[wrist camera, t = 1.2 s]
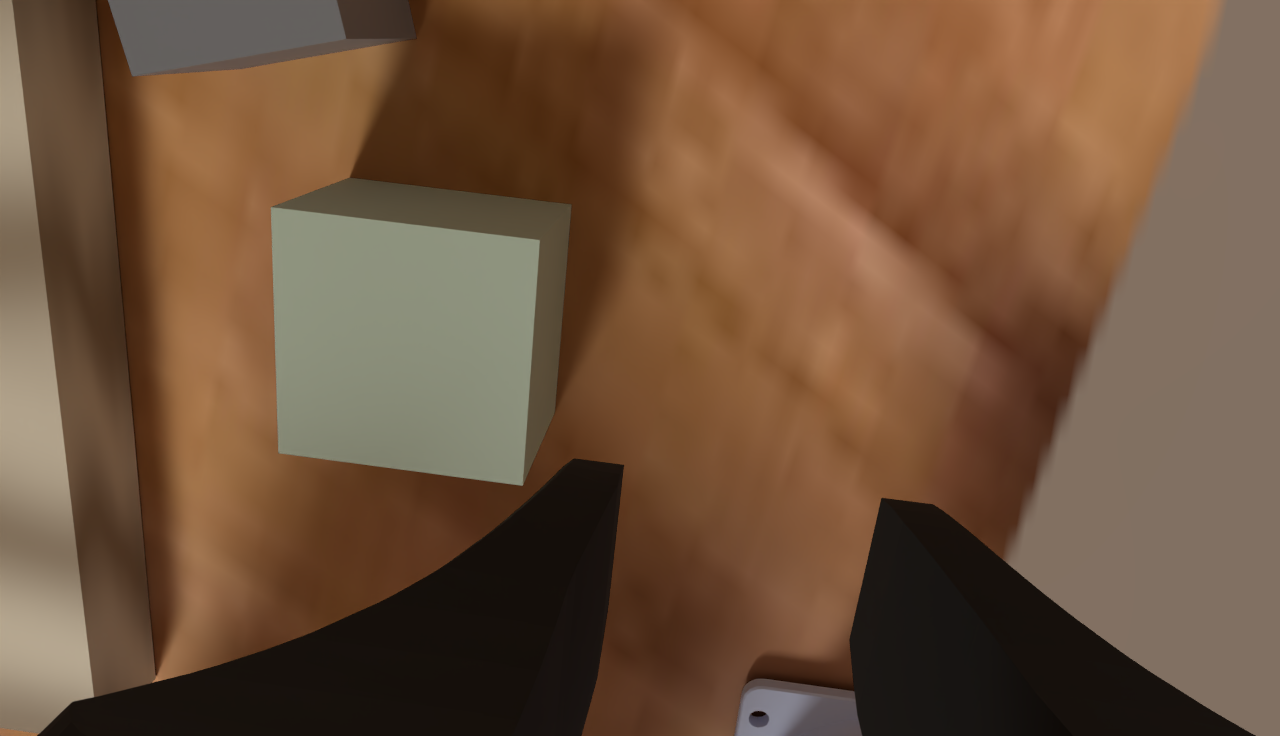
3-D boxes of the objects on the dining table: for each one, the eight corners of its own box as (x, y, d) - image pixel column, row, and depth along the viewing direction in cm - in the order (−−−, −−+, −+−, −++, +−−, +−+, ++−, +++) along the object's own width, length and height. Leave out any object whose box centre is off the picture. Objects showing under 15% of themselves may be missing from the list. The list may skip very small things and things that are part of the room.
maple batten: (155, 678, 26) (99, 742, 23) (51, 663, 26) (-16, 725, 24) (63, -360, 18) (-38, -422, 15) (-89, -376, 18) (-213, -439, 15)
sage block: (555, 410, 22) (522, 485, 19) (352, 383, 22) (278, 453, 19) (572, 203, 21) (539, 240, 17) (352, 177, 21) (270, 207, 17)
